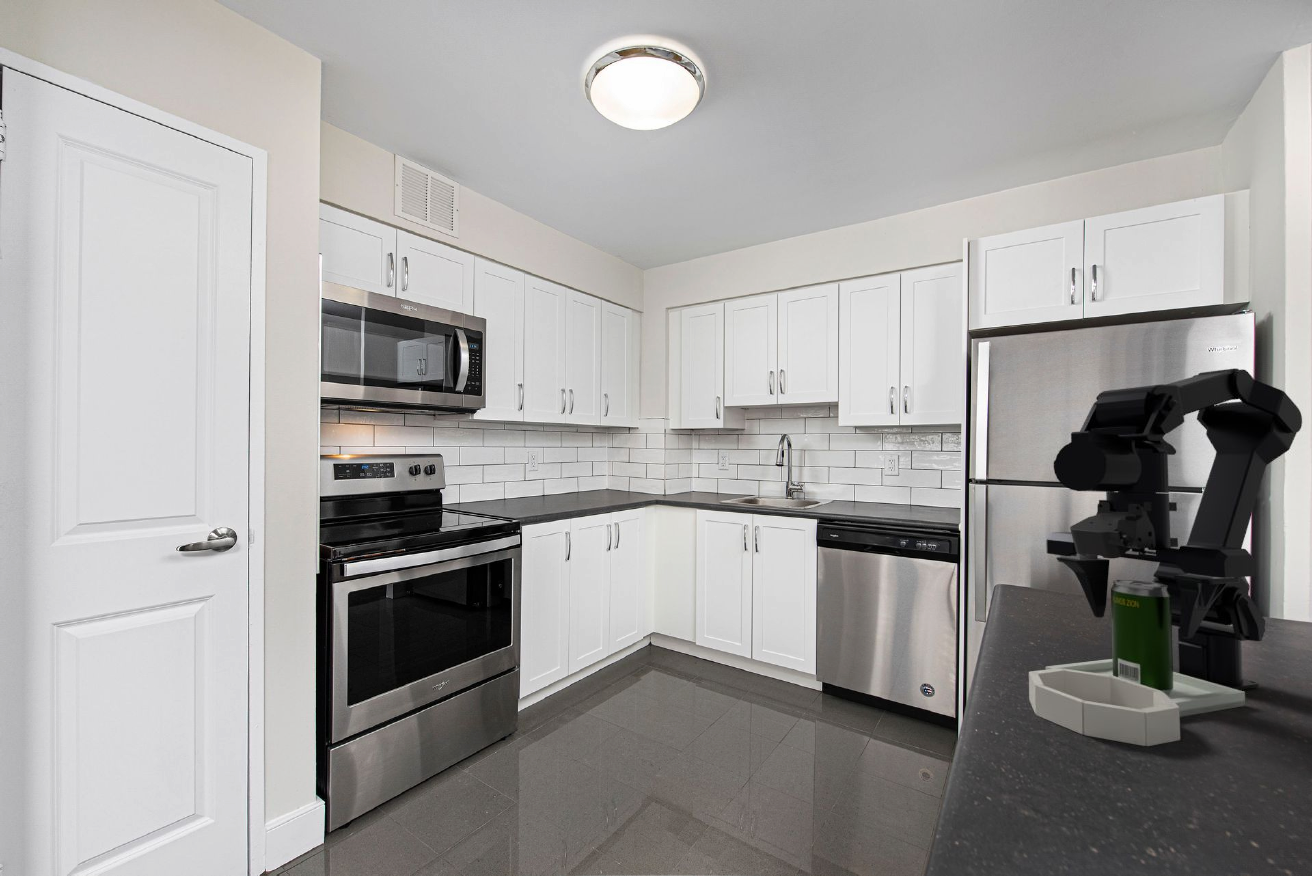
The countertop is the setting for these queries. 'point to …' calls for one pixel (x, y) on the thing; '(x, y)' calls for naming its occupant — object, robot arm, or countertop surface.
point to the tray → (1178, 689)
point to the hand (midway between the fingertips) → (1140, 626)
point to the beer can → (1142, 633)
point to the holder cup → (1104, 706)
